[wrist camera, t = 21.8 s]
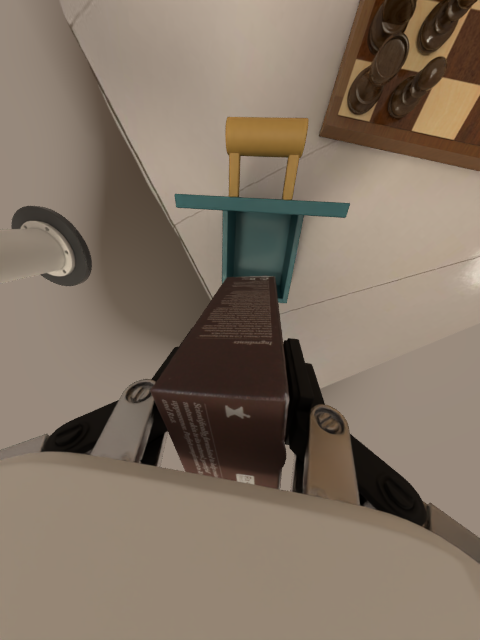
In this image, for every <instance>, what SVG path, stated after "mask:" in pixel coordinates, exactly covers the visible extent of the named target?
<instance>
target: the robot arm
mask: <svg viewBox="0 0 480 640" xmlns="http://www.w3.org/2000/svg"><path fill="white" fill-rule="evenodd" d="M74 267H75V256H74V253H73V250H72V248H71V246H70V244H69V243H68V241H67V240H66V239H65V237H64V236H63V235H62V234H61V233H60V232H59V231H58V230H56V229H55V228H54V227H52V226H51V225H49V224H47V223H44V222H41V221H27V222H25V223H24V224H23V225H22V226H21V228H20V229H2V230H0V284H1V283H5V282H9V281H14V280H18V279H23V278H27V277H31V276H36V275H40V274H44V273H48V274H51V275H53V276H65V275H68V274H70V273H71V272H72V271H73V270H74ZM190 331H191V330H190ZM189 333H190V332H189ZM189 333H188V334H189ZM188 334H187V336H188ZM187 336H186V337H187ZM186 337H185V339H186ZM185 339H184V340H185ZM184 340H183V341H184ZM182 343H183V342H182ZM182 343H181V344H182ZM181 344H180V346H181ZM180 346H179V347H175V348H174V349H173V350H172V352H171V353H170V355H169V356H168V357H167V359H166V360H165V362H164V363H163V364H162V366H161V367H160V368H159V370H158V371H157V372H156V374H155V376H154V377H153V378H152V379H143V380H139V381H136V382H134V383H132V384H131V385H129V387H127V388H126V389H125V391H124V392H123V394H122V395H121V397H120V399H119V400H118V401H116V402H113V403H111V404H108V405H106V406H104V407H102V408H99V409H97V410H95V411H93V412H90V413H88V414H85V415H83V416H81V417H78V418H76V419H74V420H72V421H69V422H68V423H66V424H64V425H62V426H61V427H60V428H58V429H57V430H56V431H55V432H54V433H53V434H52V435H50V436H49V435H48V434H44V435H42V436H39V437H36V438H33V439H30V440H28V441H25V442H22V443H19V444H16V445H13V446H11V447H8V448H5V449H2V450H0V640H480V538H479V537H477V536H476V535H475V534H473V533H472V532H471V531H469V530H468V529H466V528H465V527H463V526H462V525H461V524H459V523H458V522H457V521H455V520H454V519H452V518H451V517H450V516H448V515H447V514H445V513H444V512H443V511H441V510H440V509H438V508H437V507H436V506H434V505H433V504H432V503H429V504H426V503H425V502H423V501H422V500H421V498H420V496H419V494H418V493H417V492H416V490H415V489H414V488H413V487H412V485H410V483H408V481H406V480H405V479H404V478H403V477H402V476H401V475H400V474H398V473H397V472H396V471H395V470H393V469H392V468H391V467H390V466H389V465H387V464H386V463H385V462H384V461H383V460H381V459H380V458H379V457H378V456H376V455H375V454H374V453H373V452H372V451H370V450H369V449H368V448H367V447H365V446H364V445H363V444H362V443H361V442H359V441H358V440H357V439H355V438H354V437H353V436H352V435H351V434H350V432H349V426H348V423H347V421H346V419H345V418H344V416H343V415H342V414H341V413H340V412H339V411H337V410H336V409H335V408H333V407H331V406H328V405H325V404H324V400H323V397H322V394H321V391H320V388H319V385H318V382H317V378H316V375H315V372H314V369H313V366H312V364H309V363H305V361H304V358H303V354H302V350H301V347H300V343H299V340H298V339H290V338H288V340H287V341H286V340H285V341H284V344H283V347H284V355H285V364H286V374H287V381H288V392H289V405H288V415H287V424H286V434H285V444H286V445H289V446H290V449H291V450H292V451H293V452H294V463H293V472H292V482H291V490H290V491H284V490H280V489H274V488H269V487H264V486H259V485H253V484H248V483H243V482H237V481H232V480H227V479H221V478H216V477H211V476H205V475H200V474H194V473H189V472H184V471H178V470H173V469H166V468H162V467H160V466H161V461H162V457H163V452H164V448H165V443H166V438H167V434H168V430H167V428H166V425H165V423H164V421H163V419H162V417H161V414H160V412H159V410H158V408H157V406H156V403H155V401H154V399H153V396H152V394H151V392H150V389H151V388H152V387H153V385H154V384H155V383H156V382H157V380H158V379H159V377H160V376H161V374H162V373H163V371H164V370H165V369H166V367H167V366H168V364H169V363H170V361H171V359H172V358H173V356H174V355H175V354H176V352H177V351H178V349H179V348H180Z"/></svg>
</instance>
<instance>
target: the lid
mask: <svg viewBox="0 0 480 640" xmlns="http://www.w3.org/2000/svg"><path fill="white" fill-rule="evenodd" d="M307 130H308V118H260V117H228V118H227V121H226V149H227V153H228V155H229V197H224V196H205V195H187V194H175V201H176V207H177V208H192V209H209V210H225V211H242V212H258V213H275V214H291V215H308V216H324V217H341V218H345V217H346V215H347V212H348V209H349V206H350V203H335V202H316V201H298V200H292V197H293V191H294V185H295V179H296V174H297V168H298V162H299V158H301V156H302V153H303V150H304V146H305V141H306V136H307ZM240 156H259V157H288V161H287V168H286V175H285V182H284V189H283V196H282V200H279V199H261V198H242V197H239V184H240Z"/></svg>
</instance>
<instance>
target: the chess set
mask: <svg viewBox="0 0 480 640" xmlns="http://www.w3.org/2000/svg"><path fill="white" fill-rule="evenodd" d="M319 136H322V137H326V138H331V139H335V140H340V141H344V142H349V143H354V144H358V145H363V146H367V147H372V148H376V149H381V150H385V151H390V152H395V153H399V154H404V155H408V156H413V157H417V158H422V159H426V160H431V161H436V162H440V163H445V164H449V165H454V166H458V167H463V168H467V169H472V170H477V171H480V0H360V2H359V6H358V9H357V12H356V16H355V19H354V22H353V26H352V29H351V32H350V35H349V39H348V42H347V45H346V49H345V52H344V55H343V59H342V62H341V65H340V68H339V72H338V75H337V78H336V82H335V85H334V88H333V92H332V95H331V98H330V101H329V105H328V108H327V111H326V115H325V118H324V121H323V125H322V128H321V131H320V134H319Z"/></svg>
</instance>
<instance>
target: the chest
mask: <svg viewBox="0 0 480 640" xmlns="http://www.w3.org/2000/svg"><path fill="white" fill-rule="evenodd" d="M303 218H304V215H291V214H275V213H258V212H242V211H225V210H223V242H222V284H223V282H224V281H225V279H226V278H227V277H249V276H274V277H275V280H276V289H277V297H278V303H287V299H288V294H289V289H290V284H291V279H292V274H293V269H294V263H295V258H296V253H297V248H298V243H299V238H300V233H301V228H302V223H303Z"/></svg>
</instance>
